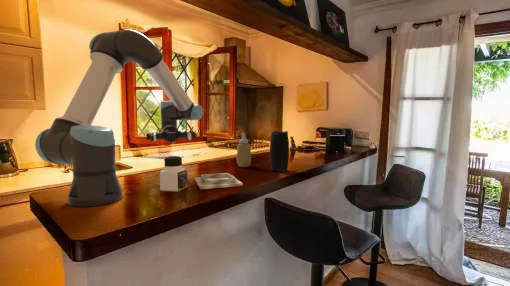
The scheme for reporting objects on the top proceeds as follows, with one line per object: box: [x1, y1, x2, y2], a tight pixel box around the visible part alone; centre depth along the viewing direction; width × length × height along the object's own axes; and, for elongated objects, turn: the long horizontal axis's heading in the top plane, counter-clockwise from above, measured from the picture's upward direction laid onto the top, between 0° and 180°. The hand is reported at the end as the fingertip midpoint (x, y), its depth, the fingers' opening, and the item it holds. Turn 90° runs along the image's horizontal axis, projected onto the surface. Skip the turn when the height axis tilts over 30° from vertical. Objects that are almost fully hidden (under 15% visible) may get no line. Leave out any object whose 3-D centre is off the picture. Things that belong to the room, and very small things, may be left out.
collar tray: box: [194, 172, 243, 190], centre depth 111 cm, size 16×16×2 cm
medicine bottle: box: [159, 155, 188, 192], centre depth 101 cm, size 7×7×12 cm
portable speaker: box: [269, 130, 290, 173], centre depth 135 cm, size 9×9×20 cm
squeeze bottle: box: [236, 132, 252, 168], centre depth 147 cm, size 8×8×18 cm
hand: (172, 137), depth 110 cm, fingers open, 13 cm apart
